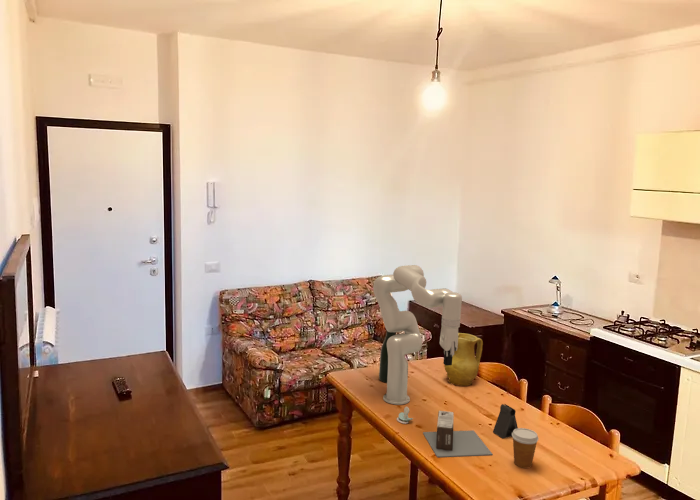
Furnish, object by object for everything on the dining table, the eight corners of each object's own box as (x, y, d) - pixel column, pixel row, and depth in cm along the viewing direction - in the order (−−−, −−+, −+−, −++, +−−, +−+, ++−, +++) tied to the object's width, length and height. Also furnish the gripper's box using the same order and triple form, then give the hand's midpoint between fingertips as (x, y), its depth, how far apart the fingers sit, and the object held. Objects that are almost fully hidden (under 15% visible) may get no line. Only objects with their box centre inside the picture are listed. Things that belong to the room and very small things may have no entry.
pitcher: (442, 373, 299) (447, 329, 295) (477, 378, 297) (483, 333, 293) (443, 386, 283) (448, 339, 278) (480, 391, 280) (486, 344, 276)
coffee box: (452, 432, 229) (452, 451, 214) (437, 430, 231) (435, 449, 215) (454, 411, 228) (453, 429, 212) (438, 410, 229) (436, 427, 214)
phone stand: (509, 429, 236) (511, 402, 234) (519, 435, 230) (521, 407, 229) (492, 432, 232) (494, 405, 231) (501, 438, 227) (504, 410, 225)
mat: (422, 433, 229) (422, 432, 229) (473, 431, 232) (473, 430, 232) (437, 457, 209) (437, 456, 209) (492, 455, 213) (492, 453, 213)
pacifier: (403, 426, 236) (414, 423, 239) (403, 412, 235) (415, 409, 238) (393, 419, 242) (404, 416, 245) (393, 405, 241) (405, 403, 244)
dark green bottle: (377, 376, 293) (380, 315, 289) (396, 376, 294) (399, 315, 290) (380, 383, 283) (383, 320, 279) (400, 383, 284) (403, 320, 280)
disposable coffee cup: (506, 456, 212) (509, 426, 210) (531, 457, 212) (534, 428, 210) (513, 469, 203) (515, 438, 201) (539, 470, 202) (542, 439, 201)
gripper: (436, 317, 237) (433, 358, 239) (447, 327, 222) (444, 371, 225) (453, 317, 238) (450, 358, 240) (465, 327, 223) (462, 371, 226)
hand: (447, 364), depth 232 cm, fingers closed
